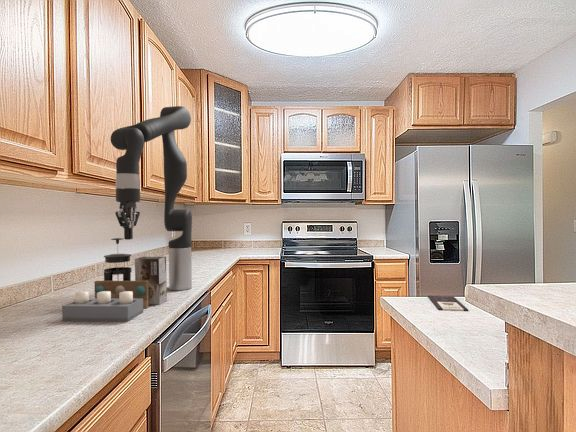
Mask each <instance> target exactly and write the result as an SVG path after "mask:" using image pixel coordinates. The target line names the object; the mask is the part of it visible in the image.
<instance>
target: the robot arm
mask: <svg viewBox="0 0 576 432" xmlns="http://www.w3.org/2000/svg"><path fill="white" fill-rule="evenodd" d="M191 123H192V117H191V113H190V111H189V109H188V108H187V107H185V106H182V105H181V106H180V105H177V106H176V105H175V106H165V107H163V108H162V109H161V111H160V113H159V116H158V117H153V118H149V119H146V120H143V121H142V120H141V121H140V122H137V123H135V124H133V125H128V126H124V127H120V128H117V129H115V130H114V131H113V132H112V133H111V134H110V143H111V145H112V146H113V147H114V148H115V149H117V150H119V151H125V153H124V154H123V155H120V156H119V157H117V158H116V164H115V167H116V168H115V169H116V175H115V202H117V203H119V207H118V209H119V210H118V211H115V213H114V214H115V217H116V219H117V221H118V224H119V226H120V227H121V228H123V230H124V231H123V237H124V238H123V240H127V241H128V240H133V239H134V236H133V235H134V234H133V233H134V232H133V229H134V227H136V226H137V224H138V220H139V217H140V214H141V212H140V211H137V203H139V202H141V180H140V179H141V178H140V161H141V157H142V153H143V151H144V150H143V149H144V145H145V143H147V142H150V141H152V140H154V139H156V138H159V137H160V136H161V137H162V138H161V139H162V151H163V152H162V153H163V181H164V211H163V213H164V214H163V217H164V219H163V220H164V221H163V222H164V228H165V231H167V232H182V234H181V235H180V236H179V237H176V238H173V239H171V240H169V241H168V289H169V290H170V291H186V290H190V289H192V287H193V283H192V280H193V277H192V276H193V275H192V267H193V266H192V228H193V226H192V225H193V214H192V211H191V210H190V209H187V208H185V209H183V208H181V209H178V208H175V202H176V198H177V197H178V194H179V193H180V191H181V190H182V188H183V186H184V185H185V184H186V181H187V179H188V167H187V166H188V165H187V164H188V163H187V160H186V158H185V157H184V154H183V152H182V151H181V150H180V148H179V146H178V143H177V142H176V136H175V134H176V133H175V131H178V130H185V129H188V127H189V126H190V125H191Z"/></svg>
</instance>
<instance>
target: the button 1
mask: <svg viewBox="0 0 576 432" xmlns="http://www.w3.org/2000/svg"><path fill="white" fill-rule="evenodd" d="M89 298H90V291H89V290H80V291H75V292H74V301H75V304H86V303H88V302H89Z"/></svg>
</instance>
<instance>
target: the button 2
mask: <svg viewBox="0 0 576 432" xmlns="http://www.w3.org/2000/svg"><path fill="white" fill-rule="evenodd" d="M110 302H111V291H101V292H98V293H97V304H108V303H110Z"/></svg>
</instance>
